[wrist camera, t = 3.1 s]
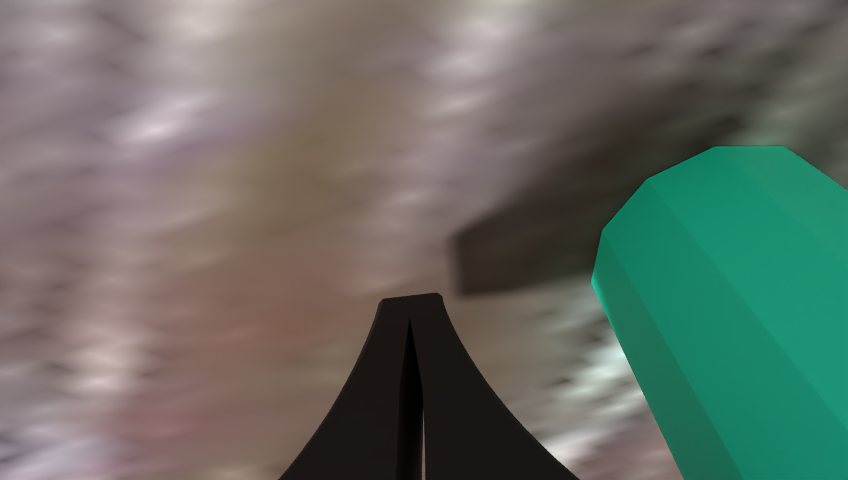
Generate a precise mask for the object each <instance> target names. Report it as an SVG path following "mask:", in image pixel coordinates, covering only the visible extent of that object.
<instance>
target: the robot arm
mask: <svg viewBox="0 0 848 480" xmlns="http://www.w3.org/2000/svg"><path fill="white" fill-rule="evenodd" d="M423 408H424V434H425V479H426V480H580V479H579V478H577V477H576V476H575V475H574V474H573V473H571V472H570V471H569V470H568V469H567V468H566V467H565V466H564V465H562V464H561V463H560V462H559V461H558V460H557V459H556V458H554V457H553V456H552V455H551V454H550V453H549V452H548V451H547V450H546V449H545V448H544V447H543V446H542V445H541V444H540V443H539V442H538V441H537V440H536V439H535V438H534V437H533V436H532V435H531V434H530V433H529V432H528V431H527V430H526V429H525V428H524V427H523V426H522V424H521V423H520V422H519V421H518V420H517V419H516V418H515V417H514V415H513V414H512V413H511V412H510V411H509V410H508V408H507V407H506V406H505V405H504V404H503V402H502V401H501V400H500V399H499V398H498V396H497V395H496V394H495V392H494V391H493V390H492V388H491V387H490V386H489V384H488V383H487V382H486V380H485V379H484V377H483V376H482V374H481V373H480V372H479V370H478V369H477V367H476V366H475V364H474V362H473V361H472V359H471V358H470V356H469V354H468V353H467V351H466V349H465V348H464V346H463V344H462V342H461V341H460V339H459V337H458V335H457V333H456V331H455V329H454V327H453V325H452V323H451V321H450V319H449V316H448V314H447V312H446V309H445V306H444V303H443V298H442V296H441V295H440V294H438V293H428V294H420V295H411V296H403V297H395V298H386V299H383V300H382V301H381V302H380V303H379V305H378V309H377V312H376V315H375V319H374V321H373V324H372V327H371V330H370V332H369V335H368V337H367V340H366V342H365V344H364V346H363V349H362V351H361V353H360V355H359V357H358V360H357V362H356V364H355V366H354V368H353V370H352V372H351V374H350V376H349V377H348V379H347V381H346V383H345V385H344V387H343V389H342V390H341V392H340V394H339V396H338V398H337V399H336V401H335V403H334V404H333V406H332V408H331V409H330V411H329V412H328V414H327V416H326V417H325V419H324V420H323V422H322V423H321V425H320V426H319V428H318V429H317V431H316V432H315V434H314V435H313V436H312V438H311V439H310V440H309V442H308V443H307V444H306V446H305V447H304V448H303V450H302V451H301V452H300V454H299V455H298V456H297V458H296V459H295V460H294V462H293V463H292V464H291V465H290V467H289V468H288V469H287V470H286V471H285V473H284V474H283V475H282V476H281V477H280V478H279V479H278V480H422V448H423Z"/></svg>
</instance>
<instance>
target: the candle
mask: <svg viewBox="0 0 848 480" xmlns="http://www.w3.org/2000/svg"><path fill="white" fill-rule="evenodd" d="M591 284H592V286H593V288H594V290H595V292H596V294H597V296H598V299H599V301H600V303H601V305H602V307H603V309H604V311H605V313H606V315H607V318H608V320H609V322H610V324H611V326H612V328H613V330H614V332H615V334H616V337H617V339H618V341H619V343H620V345H621V347H622V349H623V351H624V354H625V356H626V358H627V360H628V362H629V364H630V366H631V368H632V370H633V373H634V375H635V377H636V379H637V381H638V383H639V385H640V387H641V390H642V392H643V394H644V396H645V398H646V400H647V402H648V404H649V406H650V409H651V411H652V413H653V415H654V417H655V419H656V421H657V423H658V425H659V428H660V430H661V432H662V434H663V436H664V438H665V440H666V442H667V445H668V447H669V449H670V451H671V453H672V455H673V457H674V459H675V461H676V464H677V466H678V468H679V470H680V472H681V474H682V476H683V478H684V480H848V190H846V189H845V188H844V187H842V186H841V185H840V184H838V183H837V182H835V181H834V180H833V179H831V178H830V177H829V176H827V175H826V174H824V173H823V172H821V171H820V170H818V169H817V168H815V167H814V166H813V165H811V164H810V163H808V162H807V161H805V160H804V159H802V158H801V157H799V156H798V155H797V154H795V153H794V152H792V151H791V150H789V149H788V148H786V147H785V146H715V147H713V148H711V149H709V150H706V151H704V152H702V153H700V154H698V155H696V156H694V157H692V158H690V159H687V160H685V161H683V162H681V163H679V164H677V165H675V166H673V167H671V168H669V169H666V170H664V171H662V172H660V173H658V174H656V175H654V176H652V177H650V178H647V179H646V180H645V182H644V183H643V184H642V185H641V186H640V187H639V188H638V190H637V191H636V192H635V193H634V194H633V195H632V196H631V198H630V199H629V200H628V201H627V202H626V203H625V204H624V206H623V207H622V208H621V209H620V210H619V211H618V212H617V214H616V215H615V216H614V217H613V218H612V219H611V220H610V222H609V223H608V224H607V225H606V226H605V227H604V228H603V230H602V233H601V238H600V243H599V247H598V252H597V257H596V261H595V266H594V271H593V276H592V280H591Z"/></svg>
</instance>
